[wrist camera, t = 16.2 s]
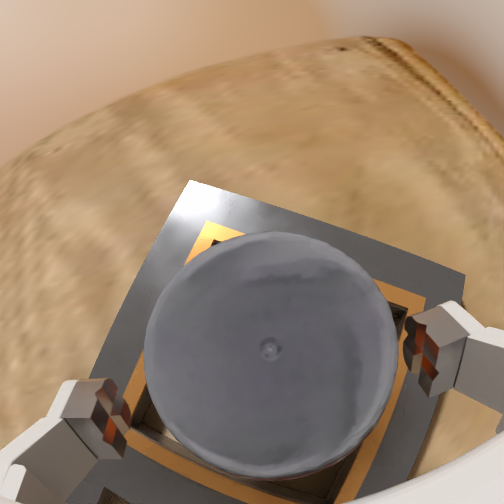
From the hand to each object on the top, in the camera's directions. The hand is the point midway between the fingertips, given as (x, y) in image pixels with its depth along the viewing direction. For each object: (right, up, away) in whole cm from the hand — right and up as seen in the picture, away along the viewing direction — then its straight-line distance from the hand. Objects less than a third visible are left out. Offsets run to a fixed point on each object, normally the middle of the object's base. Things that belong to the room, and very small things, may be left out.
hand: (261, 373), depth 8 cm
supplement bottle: (+1, -3, +7) cm, 8 cm away
